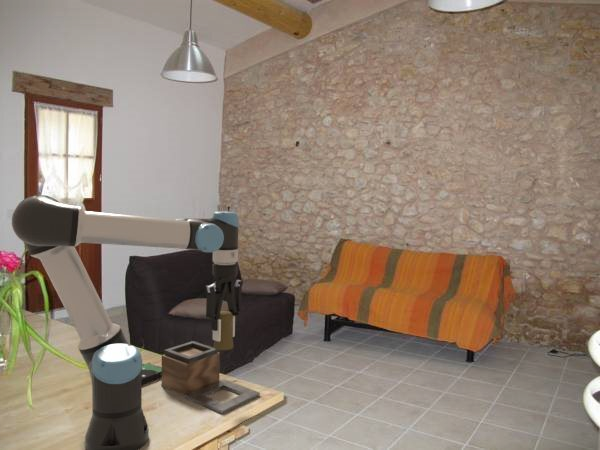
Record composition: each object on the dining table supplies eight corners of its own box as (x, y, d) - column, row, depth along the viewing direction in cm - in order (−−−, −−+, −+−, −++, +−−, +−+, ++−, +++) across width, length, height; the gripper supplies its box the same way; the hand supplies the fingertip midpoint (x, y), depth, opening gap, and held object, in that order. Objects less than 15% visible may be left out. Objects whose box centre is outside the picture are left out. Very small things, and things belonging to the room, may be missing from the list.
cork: (223, 351, 145) (224, 315, 144) (209, 347, 149) (210, 311, 148) (237, 346, 150) (238, 311, 149) (223, 342, 154) (224, 308, 153)
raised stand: (186, 396, 151) (186, 359, 150) (161, 385, 158) (161, 350, 157) (219, 382, 162) (219, 348, 161) (195, 372, 169) (195, 340, 168)
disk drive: (130, 391, 154) (167, 376, 166) (130, 383, 154) (167, 368, 166) (110, 383, 160) (148, 369, 172) (110, 375, 160) (148, 361, 172)
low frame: (222, 414, 140) (222, 410, 140) (185, 398, 149) (185, 394, 149) (259, 395, 153) (259, 392, 152) (223, 381, 162) (223, 378, 162)
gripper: (211, 268, 138) (209, 348, 140) (254, 261, 152) (253, 333, 154) (193, 264, 142) (192, 342, 144) (237, 258, 157) (235, 328, 159)
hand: (223, 337), depth 149 cm, fingers closed on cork, 5 cm apart
